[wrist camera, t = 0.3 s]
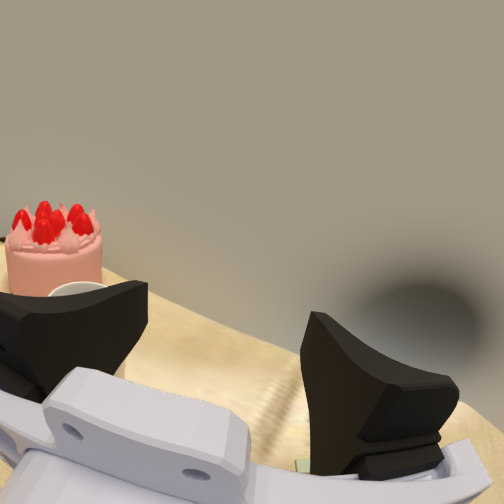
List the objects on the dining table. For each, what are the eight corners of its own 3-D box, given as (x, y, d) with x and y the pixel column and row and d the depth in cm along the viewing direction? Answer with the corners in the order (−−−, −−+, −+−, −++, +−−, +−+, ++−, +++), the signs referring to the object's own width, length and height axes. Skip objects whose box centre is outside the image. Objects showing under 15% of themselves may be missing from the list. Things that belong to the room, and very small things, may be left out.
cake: (120, 282, 50) (125, 211, 45) (47, 328, 31) (37, 236, 26) (60, 254, 52) (61, 193, 48) (-7, 282, 34) (-14, 208, 29)
